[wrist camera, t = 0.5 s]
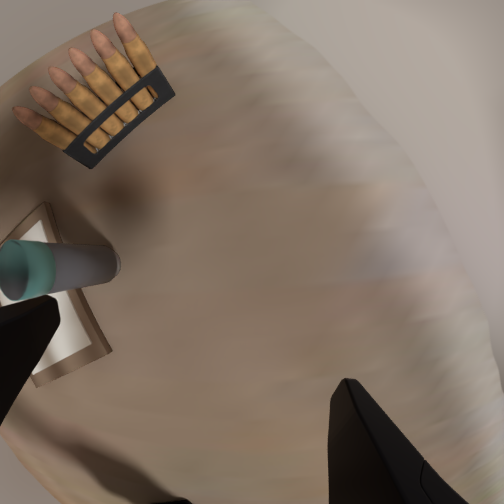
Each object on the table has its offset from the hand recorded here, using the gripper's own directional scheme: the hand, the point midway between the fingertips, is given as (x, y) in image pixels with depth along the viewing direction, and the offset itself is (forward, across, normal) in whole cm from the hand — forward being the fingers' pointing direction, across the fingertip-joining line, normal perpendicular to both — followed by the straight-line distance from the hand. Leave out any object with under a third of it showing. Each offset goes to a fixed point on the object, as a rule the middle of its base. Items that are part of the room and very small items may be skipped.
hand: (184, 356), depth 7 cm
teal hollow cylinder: (+14, +11, +6) cm, 19 cm away
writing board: (+12, +20, +12) cm, 26 cm away
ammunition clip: (+19, +13, -5) cm, 24 cm away
